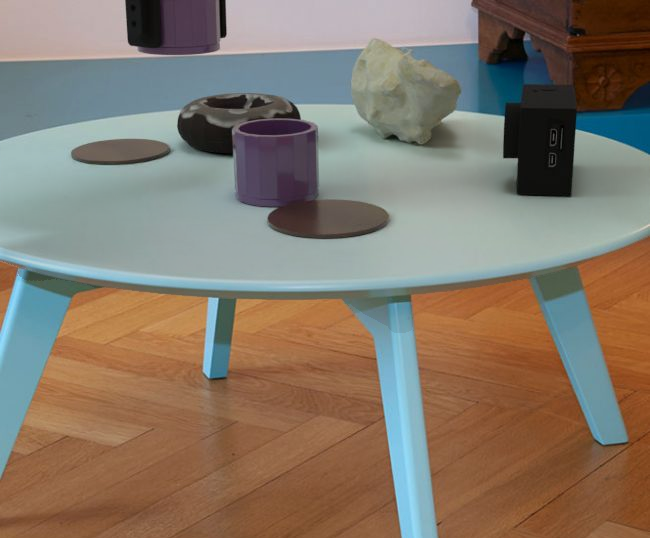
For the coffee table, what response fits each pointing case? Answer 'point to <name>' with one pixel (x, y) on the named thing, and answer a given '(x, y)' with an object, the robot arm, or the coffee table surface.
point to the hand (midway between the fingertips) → (178, 39)
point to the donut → (228, 117)
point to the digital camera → (542, 138)
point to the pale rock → (401, 92)
